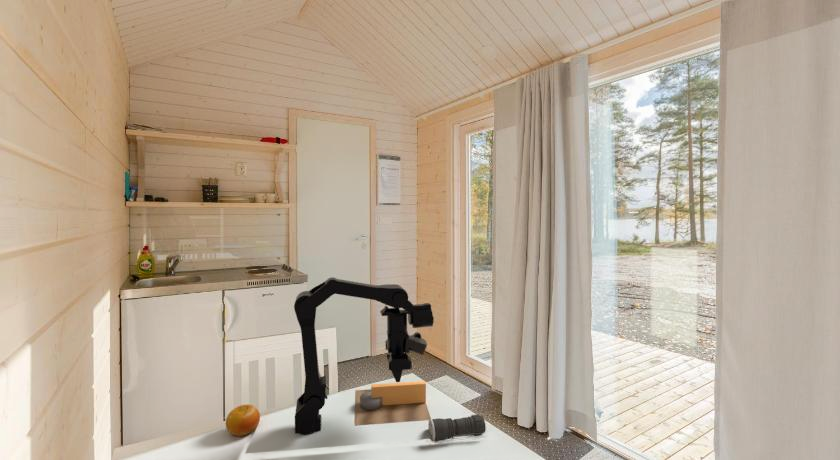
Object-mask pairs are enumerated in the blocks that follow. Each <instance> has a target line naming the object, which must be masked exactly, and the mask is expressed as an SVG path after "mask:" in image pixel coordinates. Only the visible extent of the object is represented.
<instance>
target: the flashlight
mask: <svg viewBox="0 0 840 460" xmlns="http://www.w3.org/2000/svg"><path fill="white" fill-rule="evenodd" d="M486 427H487V426H486V422H485V418H484V416H483V415H480V414H472V415H470V416H466V417H462V418H454V419H452V418H451V417H450V418H433V419H432V418H431V419H430V420H428V431H429V433H430V435H431V437H430V438H429V439H430V440H431V442H432V443H433V442H439V441H440V442H441V441H444V440H446V439H454V437H455V435H456V436H457V435H464V434H465V435H469V434H471V436H474V437H476V436H477V437H478V436H481V435H483V433H485V432H486Z"/></svg>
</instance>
